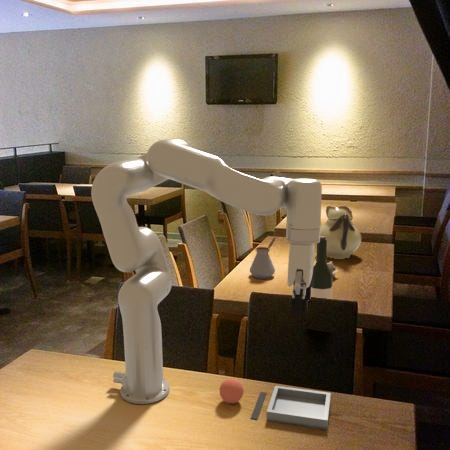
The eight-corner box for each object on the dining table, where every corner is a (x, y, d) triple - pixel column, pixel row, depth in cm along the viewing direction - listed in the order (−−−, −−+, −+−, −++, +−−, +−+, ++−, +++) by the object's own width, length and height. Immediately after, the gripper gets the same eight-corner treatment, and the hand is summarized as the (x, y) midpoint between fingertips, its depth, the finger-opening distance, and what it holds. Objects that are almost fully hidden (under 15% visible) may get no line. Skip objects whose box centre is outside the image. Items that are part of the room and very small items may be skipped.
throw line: (250, 418, 118) (250, 418, 118) (260, 392, 129) (260, 391, 129) (257, 419, 118) (257, 418, 118) (266, 393, 129) (266, 392, 129)
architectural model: (338, 278, 224) (338, 262, 222) (331, 282, 218) (332, 265, 217) (331, 276, 226) (331, 261, 224) (324, 280, 220) (325, 264, 219)
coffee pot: (269, 281, 218) (269, 248, 215) (245, 277, 224) (245, 245, 220) (286, 268, 237) (287, 238, 234) (264, 265, 242) (264, 235, 239)
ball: (216, 406, 123) (216, 384, 122) (223, 393, 129) (223, 372, 128) (240, 409, 122) (240, 387, 120) (245, 396, 127) (245, 375, 126)
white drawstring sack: (334, 248, 273) (335, 203, 268) (371, 257, 255) (373, 209, 250) (307, 256, 259) (308, 208, 254) (344, 266, 241) (346, 215, 236)
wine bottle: (328, 314, 181) (331, 233, 175) (334, 323, 173) (337, 239, 166) (305, 314, 181) (307, 234, 174) (310, 324, 172) (312, 239, 166)
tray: (266, 421, 117) (266, 411, 116) (275, 394, 128) (275, 385, 128) (327, 430, 113) (327, 420, 113) (330, 401, 125) (330, 392, 124)
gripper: (291, 225, 120) (290, 293, 124) (280, 242, 104) (278, 319, 107) (323, 227, 118) (320, 295, 122) (316, 244, 102) (314, 323, 106)
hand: (301, 306), depth 115 cm, fingers open, 9 cm apart
